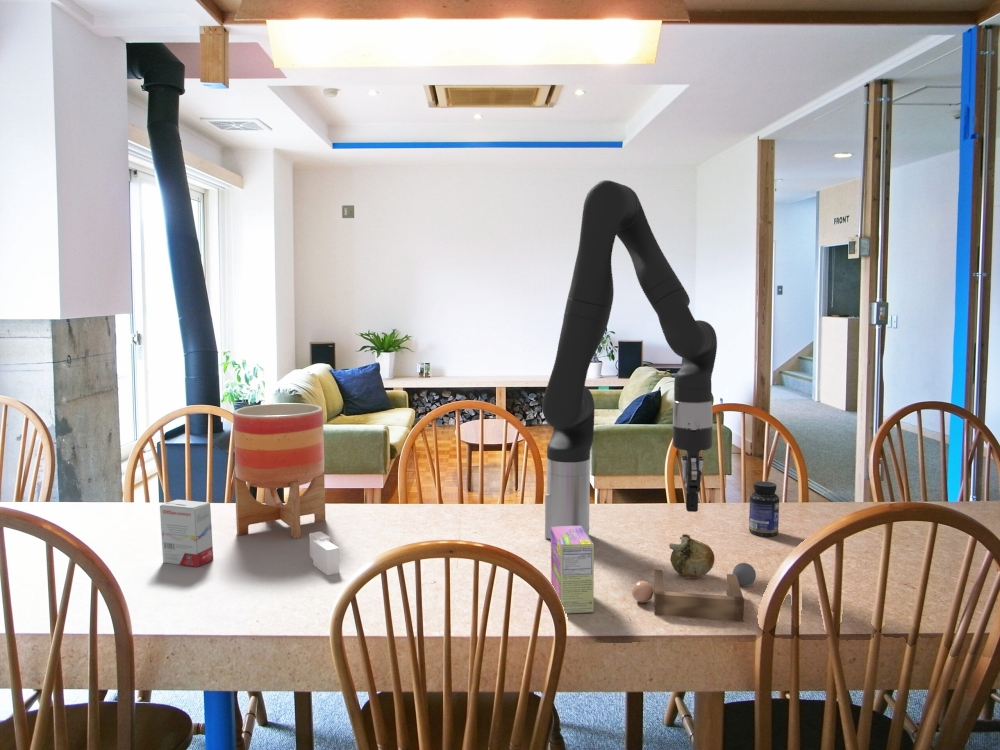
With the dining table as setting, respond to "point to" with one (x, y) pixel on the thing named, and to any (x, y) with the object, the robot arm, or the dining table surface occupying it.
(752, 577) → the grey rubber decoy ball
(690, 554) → the onion
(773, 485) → the pill bottle
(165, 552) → the ink box
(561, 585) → the box
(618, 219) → the robot arm
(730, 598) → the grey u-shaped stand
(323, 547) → the white stepped block
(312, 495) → the planter
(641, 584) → the glossy pink ball
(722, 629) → the dining table surface
